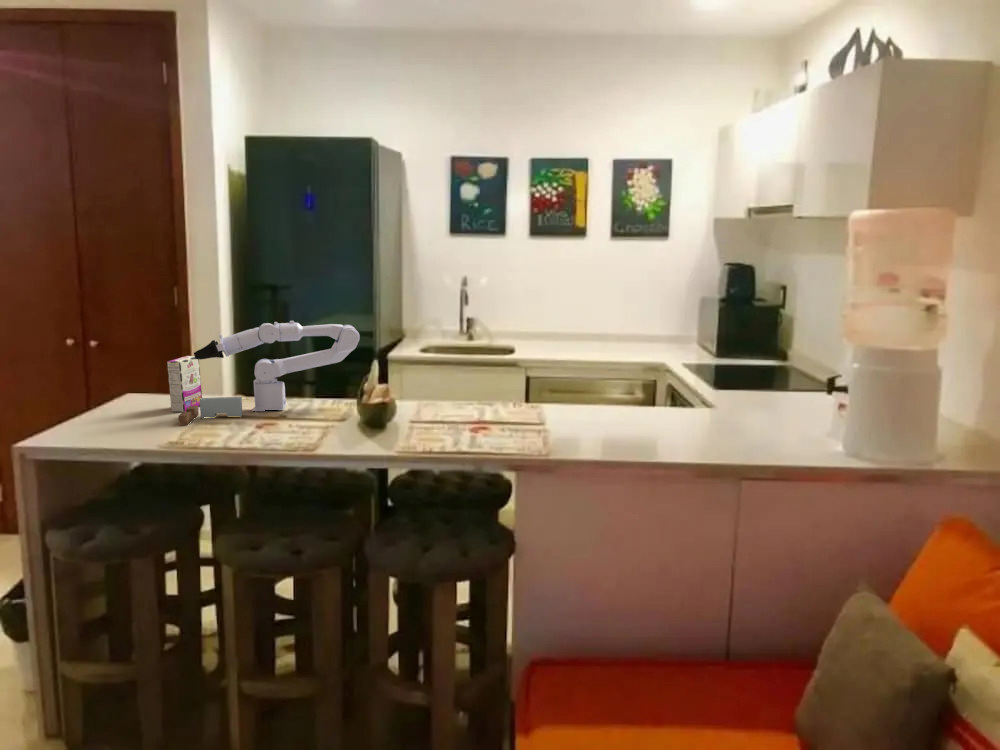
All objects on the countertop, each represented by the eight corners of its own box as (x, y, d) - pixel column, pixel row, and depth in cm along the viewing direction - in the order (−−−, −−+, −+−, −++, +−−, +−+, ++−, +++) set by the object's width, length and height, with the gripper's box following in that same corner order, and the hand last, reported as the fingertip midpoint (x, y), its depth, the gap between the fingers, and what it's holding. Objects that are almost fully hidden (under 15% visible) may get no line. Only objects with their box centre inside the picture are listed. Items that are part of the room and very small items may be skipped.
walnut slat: (198, 415, 267) (198, 405, 267) (187, 425, 254) (186, 415, 253) (190, 415, 267) (190, 406, 267) (179, 425, 253) (178, 415, 253)
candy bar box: (189, 404, 283) (185, 355, 281) (203, 405, 282) (199, 355, 280) (170, 412, 272) (166, 360, 270) (184, 412, 272) (180, 361, 269)
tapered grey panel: (242, 415, 266) (241, 396, 265) (241, 417, 264) (240, 398, 263) (202, 417, 265) (201, 397, 264) (200, 418, 262) (199, 399, 261)
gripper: (237, 331, 276) (195, 344, 274) (233, 329, 262) (188, 343, 260) (244, 351, 277) (202, 365, 274) (241, 351, 263) (196, 365, 260)
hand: (196, 356), depth 267 cm, fingers open, 7 cm apart
